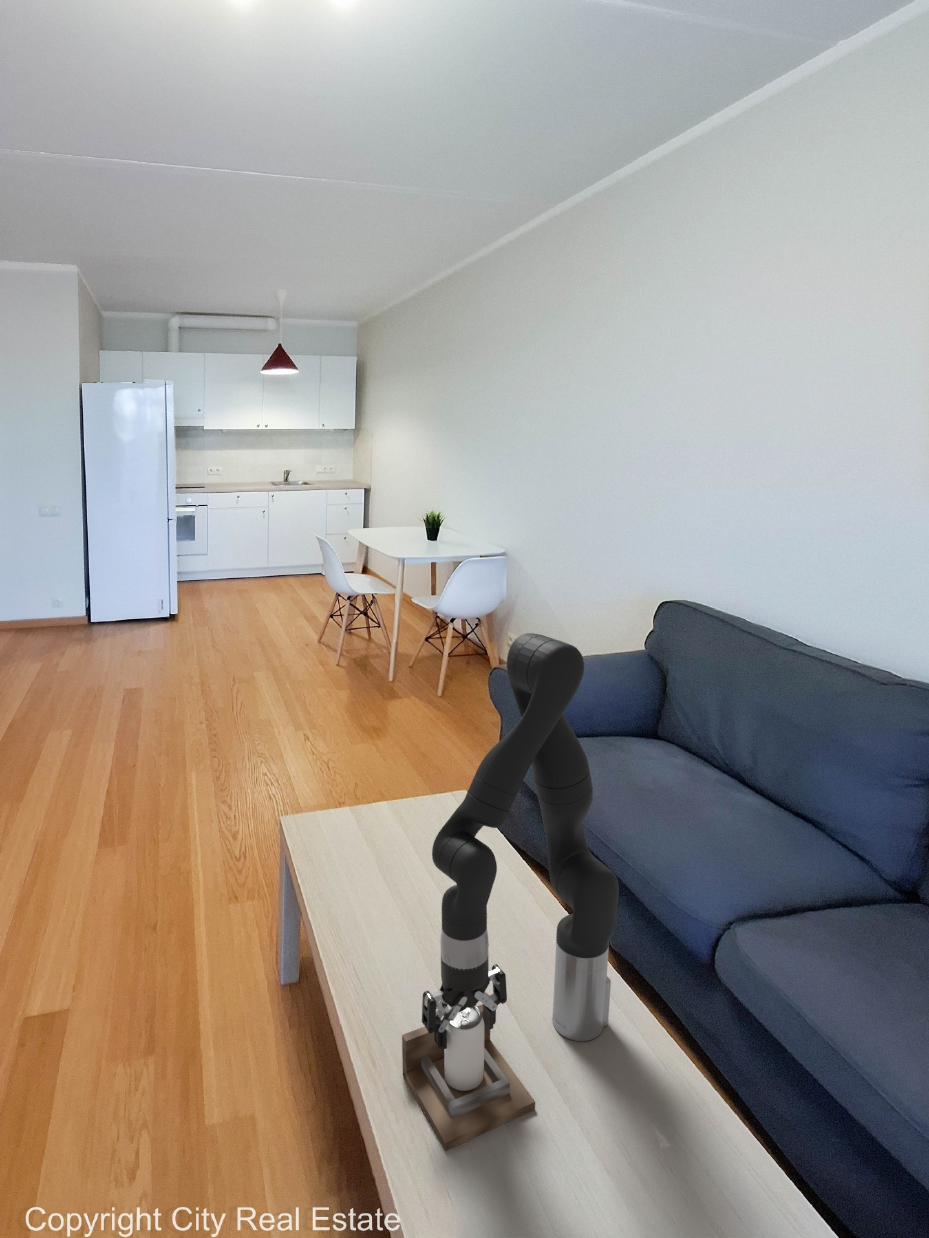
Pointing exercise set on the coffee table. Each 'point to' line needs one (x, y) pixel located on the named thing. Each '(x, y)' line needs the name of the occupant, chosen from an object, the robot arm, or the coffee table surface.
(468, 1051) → the can
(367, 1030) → the coffee table surface
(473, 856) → the robot arm
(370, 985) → the coffee table surface
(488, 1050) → the wall board
